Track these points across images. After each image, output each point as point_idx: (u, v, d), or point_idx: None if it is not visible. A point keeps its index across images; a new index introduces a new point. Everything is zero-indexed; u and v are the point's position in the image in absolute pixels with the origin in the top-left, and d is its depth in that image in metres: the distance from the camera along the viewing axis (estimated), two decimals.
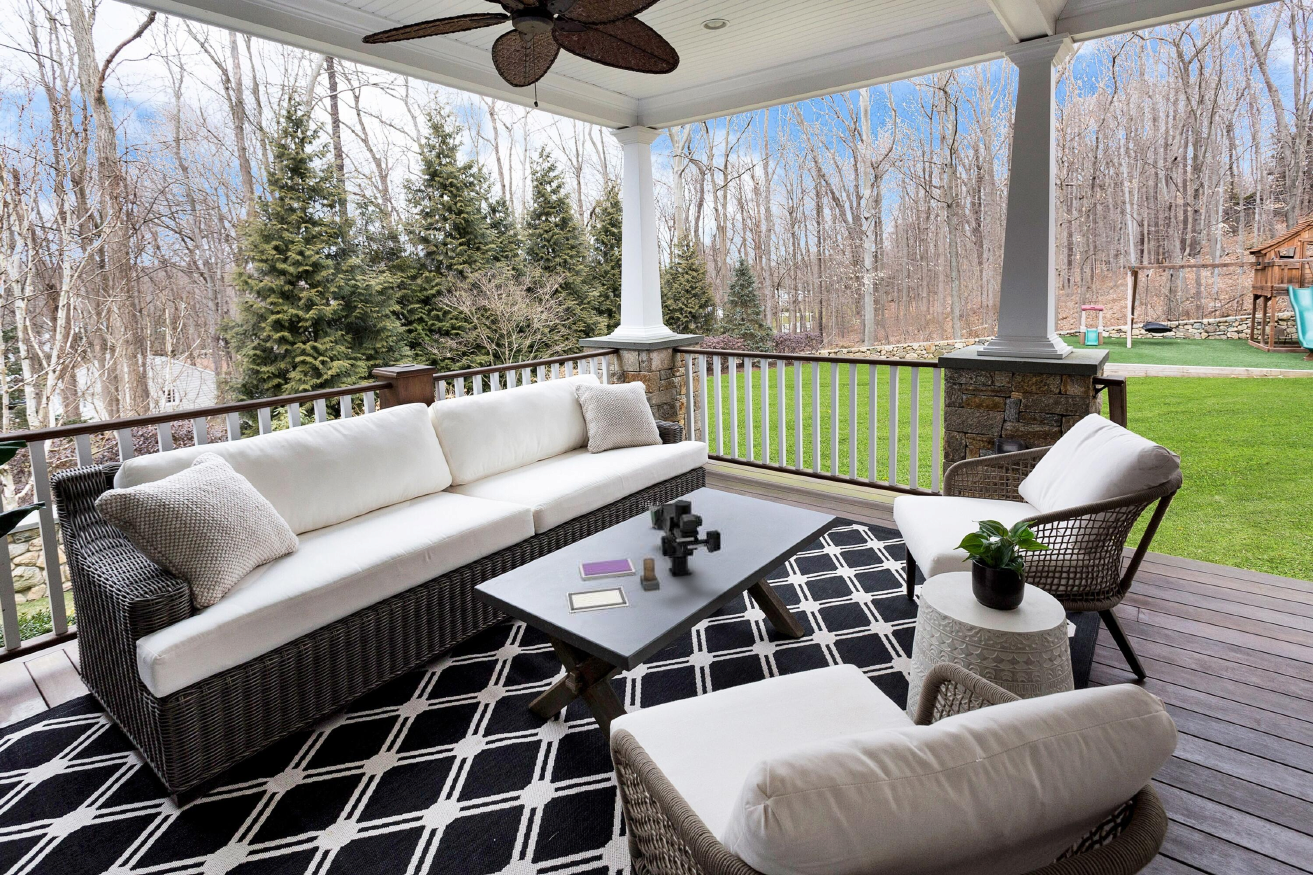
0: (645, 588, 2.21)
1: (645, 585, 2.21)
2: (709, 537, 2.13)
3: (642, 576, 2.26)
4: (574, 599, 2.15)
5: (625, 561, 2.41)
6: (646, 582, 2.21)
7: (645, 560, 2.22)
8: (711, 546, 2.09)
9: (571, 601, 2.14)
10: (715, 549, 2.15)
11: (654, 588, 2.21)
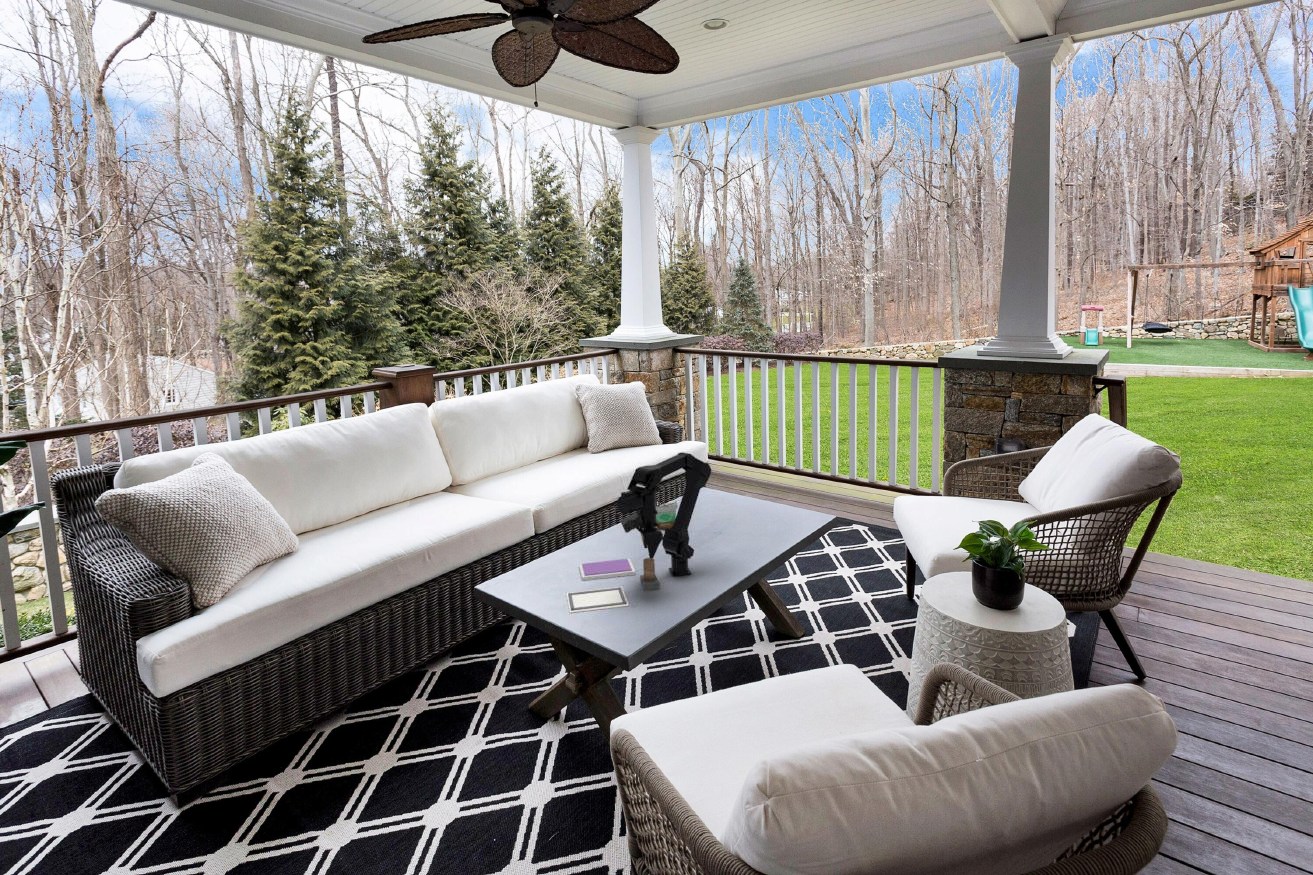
0: (645, 588, 2.21)
1: (645, 585, 2.21)
2: None
3: (642, 576, 2.26)
4: (574, 599, 2.15)
5: (625, 561, 2.41)
6: (646, 582, 2.21)
7: (645, 560, 2.22)
8: None
9: (571, 601, 2.14)
10: None
11: (654, 588, 2.21)
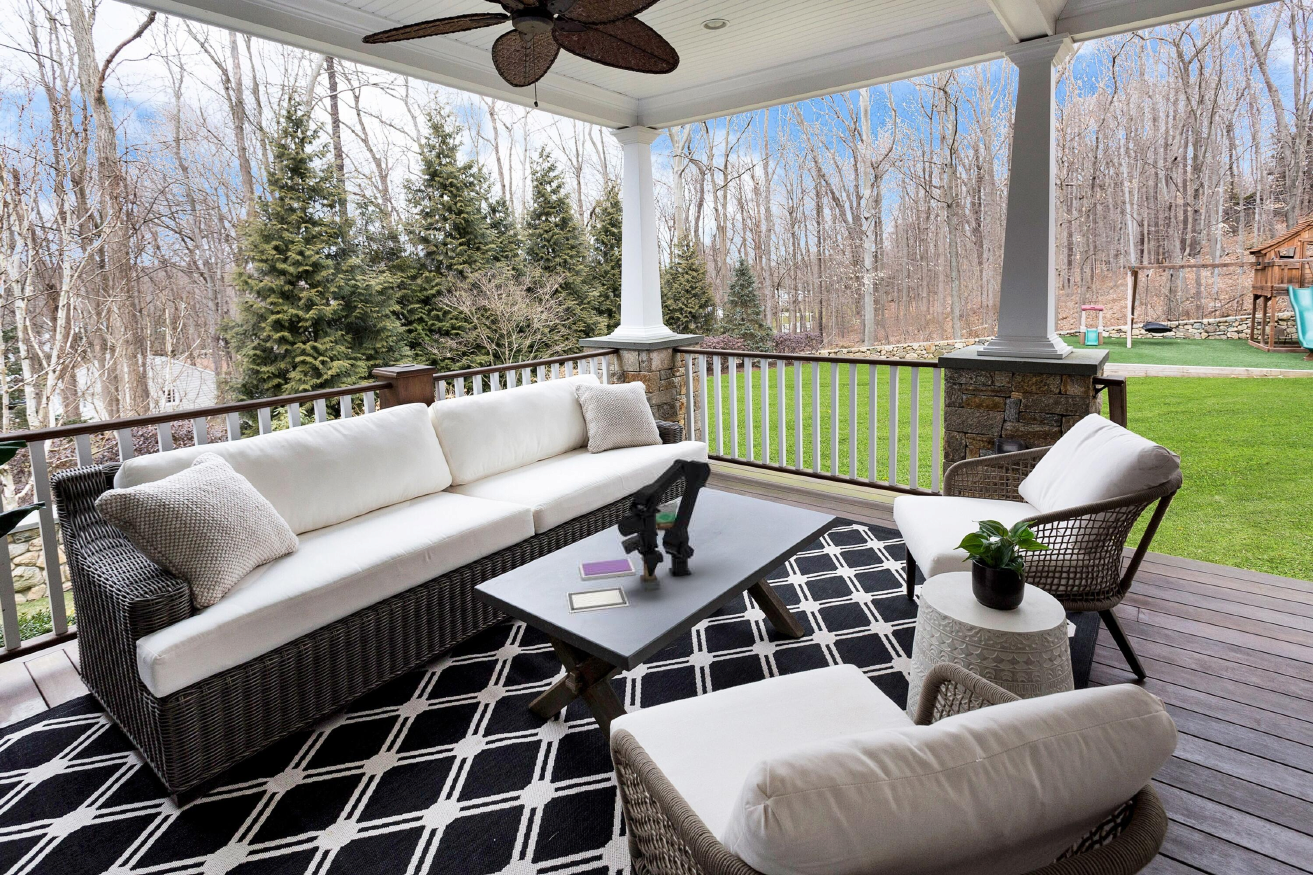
0: (645, 588, 2.21)
1: (645, 585, 2.20)
2: None
3: (642, 576, 2.26)
4: (574, 599, 2.15)
5: (625, 561, 2.41)
6: (646, 581, 2.21)
7: None
8: None
9: (571, 601, 2.14)
10: None
11: (654, 588, 2.21)
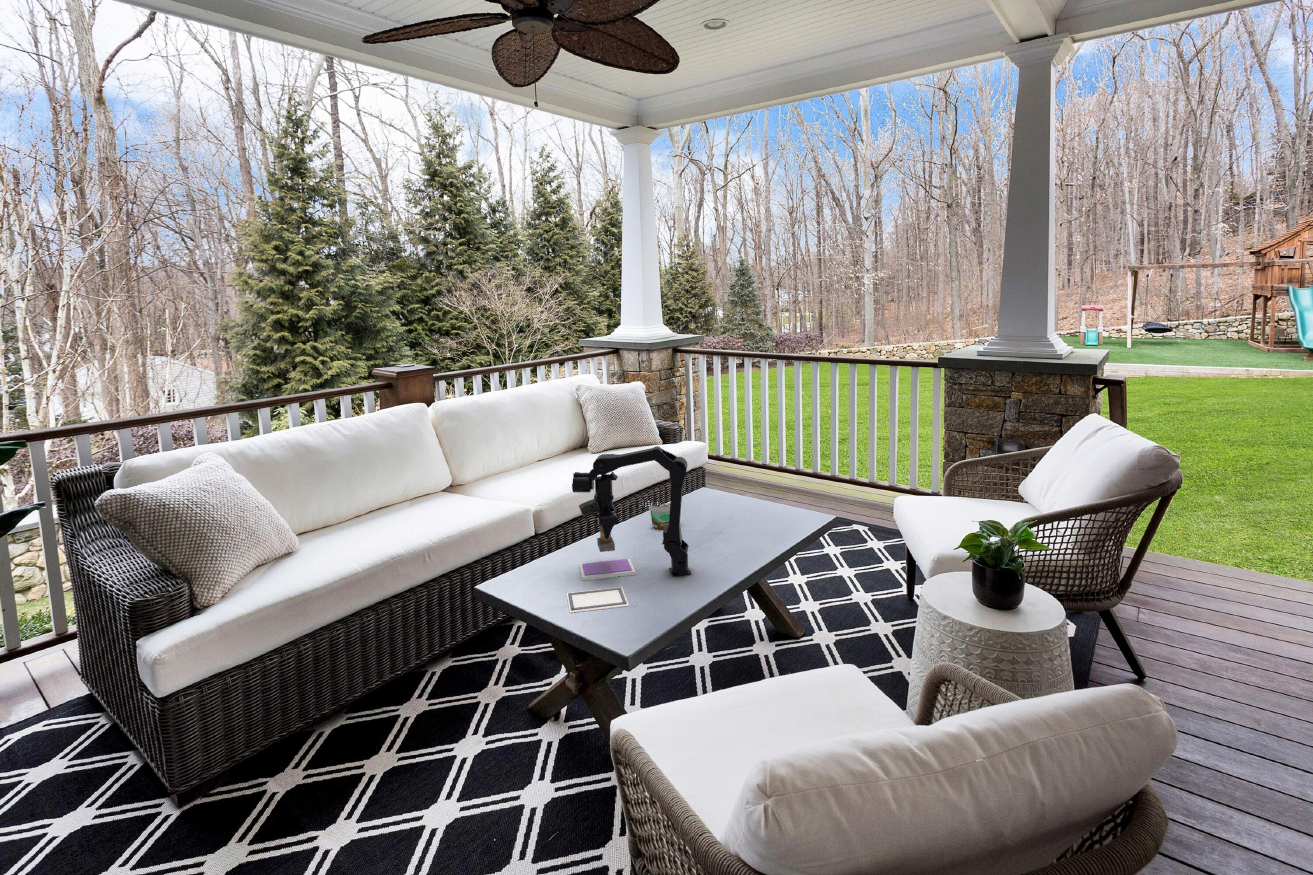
0: (601, 549, 2.31)
1: (601, 546, 2.31)
2: None
3: (599, 538, 2.37)
4: (574, 599, 2.15)
5: (625, 561, 2.41)
6: (602, 543, 2.32)
7: None
8: (604, 533, 2.32)
9: (571, 601, 2.14)
10: None
11: (610, 549, 2.32)
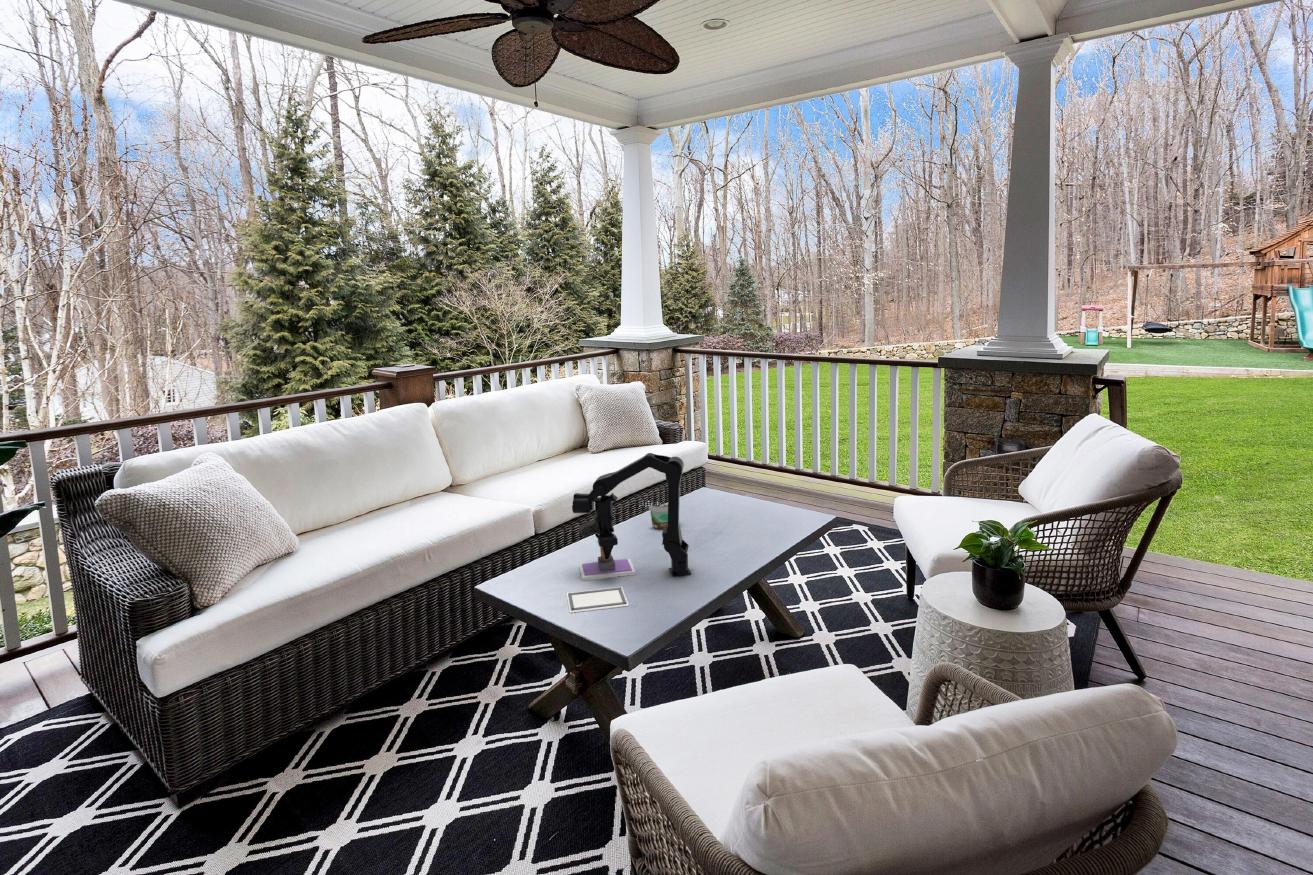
0: (601, 568, 2.33)
1: (601, 565, 2.33)
2: None
3: (599, 557, 2.39)
4: (574, 599, 2.15)
5: (625, 561, 2.41)
6: (603, 562, 2.34)
7: None
8: (604, 554, 2.34)
9: (571, 601, 2.14)
10: None
11: (610, 568, 2.34)
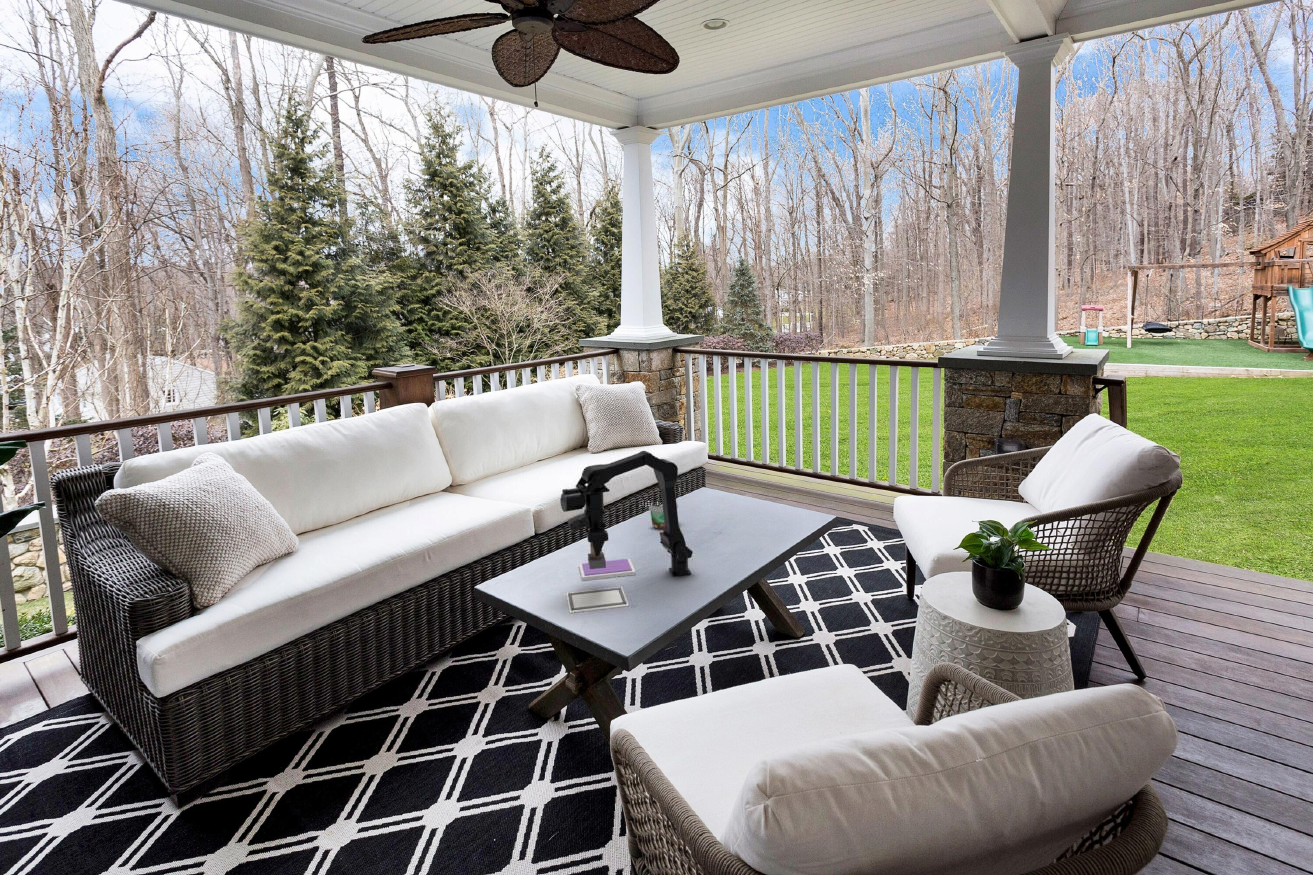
0: (591, 566, 2.16)
1: (591, 563, 2.16)
2: None
3: (590, 554, 2.21)
4: (574, 599, 2.15)
5: (625, 561, 2.41)
6: (593, 560, 2.17)
7: None
8: (594, 551, 2.16)
9: (571, 601, 2.14)
10: None
11: (600, 566, 2.16)
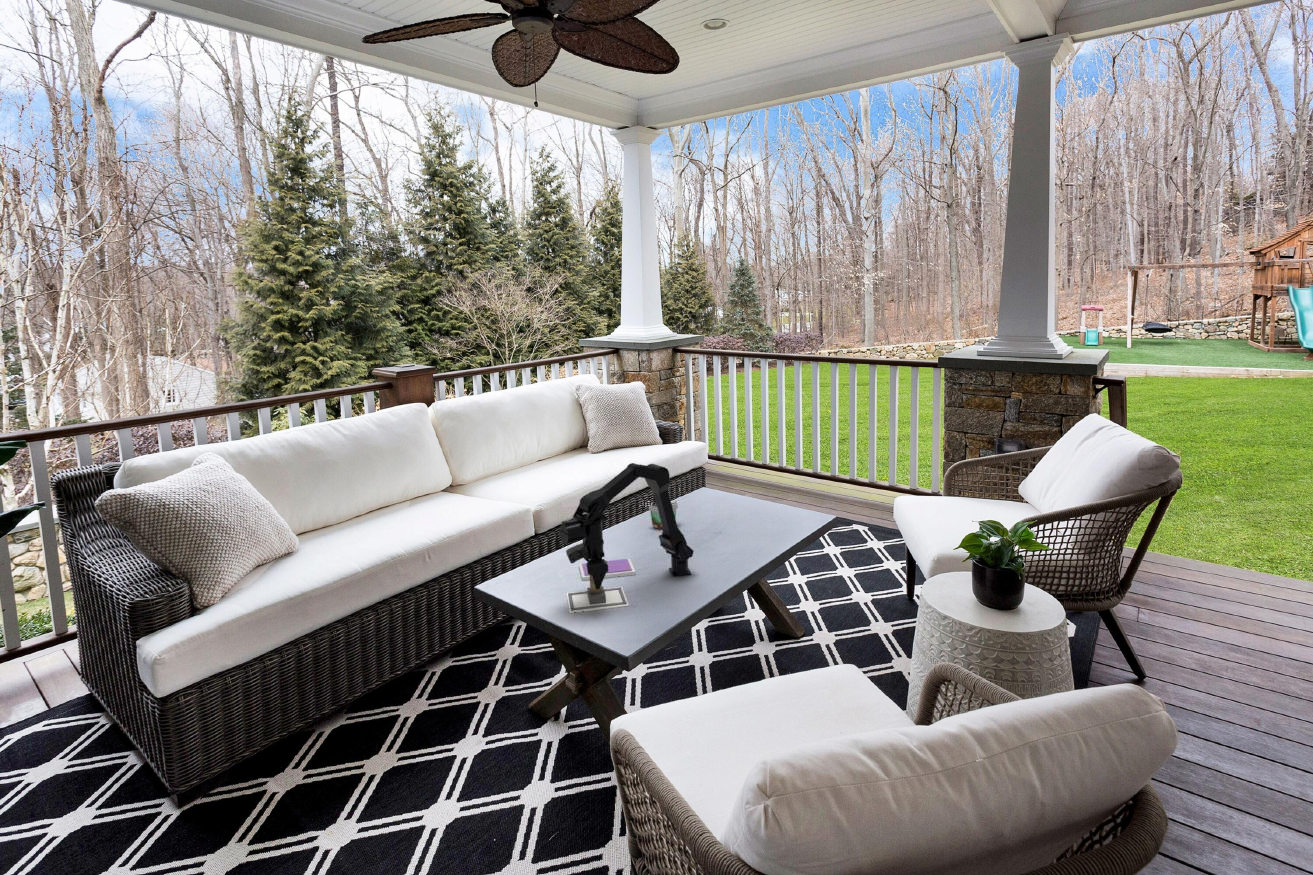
0: (591, 601, 2.12)
1: (591, 598, 2.11)
2: None
3: (589, 589, 2.17)
4: (574, 599, 2.15)
5: (625, 561, 2.41)
6: (592, 595, 2.12)
7: None
8: None
9: (571, 601, 2.14)
10: None
11: (600, 601, 2.12)
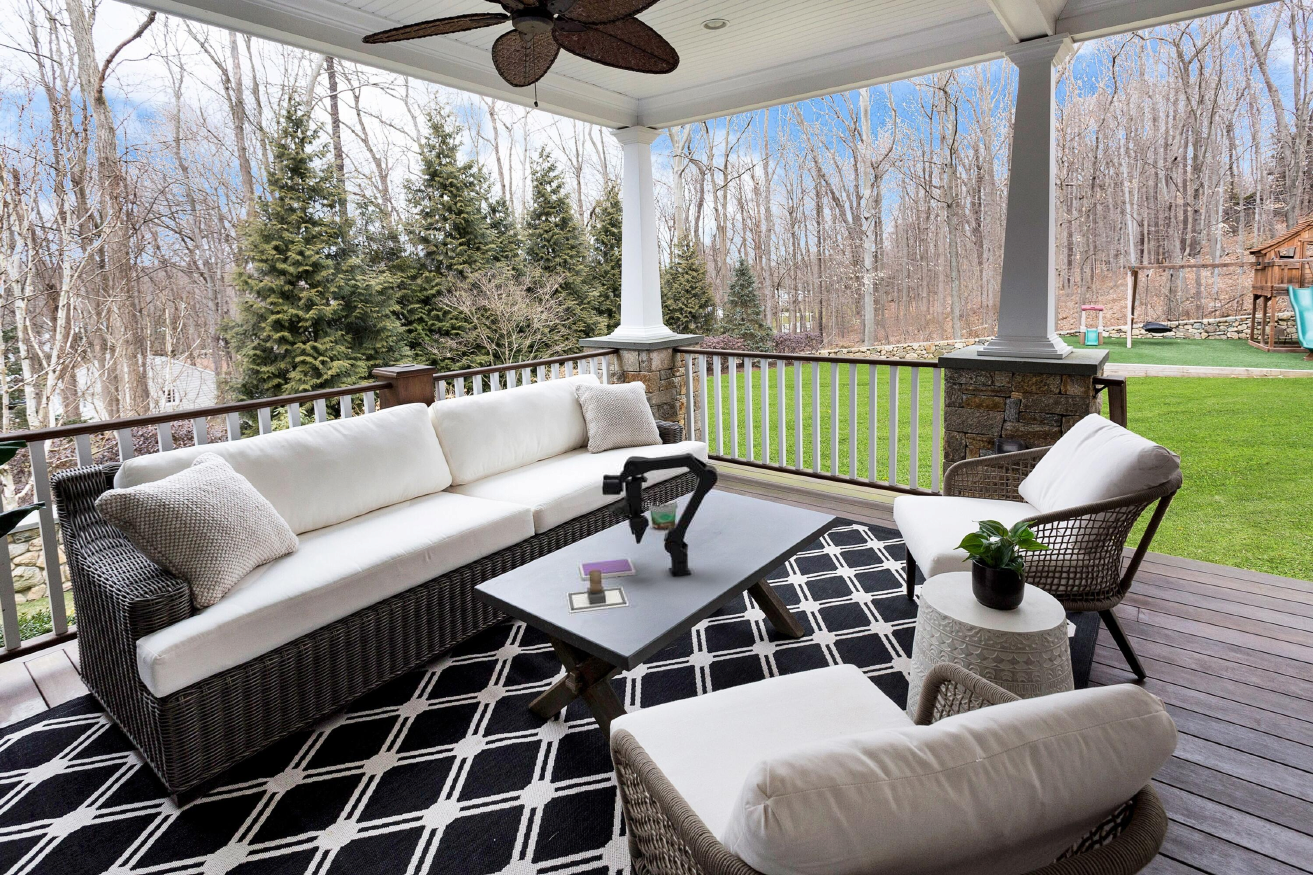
0: (591, 601, 2.12)
1: (591, 598, 2.11)
2: None
3: (589, 589, 2.17)
4: (574, 599, 2.15)
5: (625, 561, 2.41)
6: (592, 595, 2.12)
7: (591, 572, 2.13)
8: None
9: (571, 601, 2.14)
10: None
11: (600, 601, 2.12)
